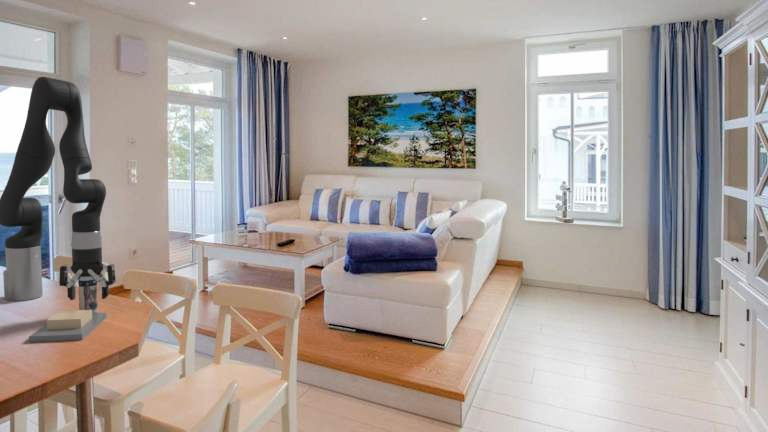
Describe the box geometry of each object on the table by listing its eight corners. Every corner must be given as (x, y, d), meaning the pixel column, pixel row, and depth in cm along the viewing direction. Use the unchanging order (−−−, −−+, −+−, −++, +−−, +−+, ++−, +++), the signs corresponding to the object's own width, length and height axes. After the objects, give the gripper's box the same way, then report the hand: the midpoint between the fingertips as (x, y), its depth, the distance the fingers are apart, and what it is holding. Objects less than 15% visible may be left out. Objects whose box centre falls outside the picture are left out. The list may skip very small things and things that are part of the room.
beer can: (89, 317, 137) (87, 277, 135) (75, 315, 138) (74, 276, 136) (101, 312, 141) (100, 274, 140) (88, 310, 142) (87, 272, 141)
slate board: (29, 342, 117) (28, 327, 116) (60, 319, 134) (60, 305, 134) (82, 339, 120) (81, 324, 119) (106, 317, 137) (105, 304, 137)
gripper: (117, 243, 143) (118, 294, 144) (65, 244, 139) (67, 296, 141) (109, 248, 135) (110, 301, 137) (54, 248, 132) (56, 303, 134)
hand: (88, 298), depth 139 cm, fingers open, 8 cm apart
